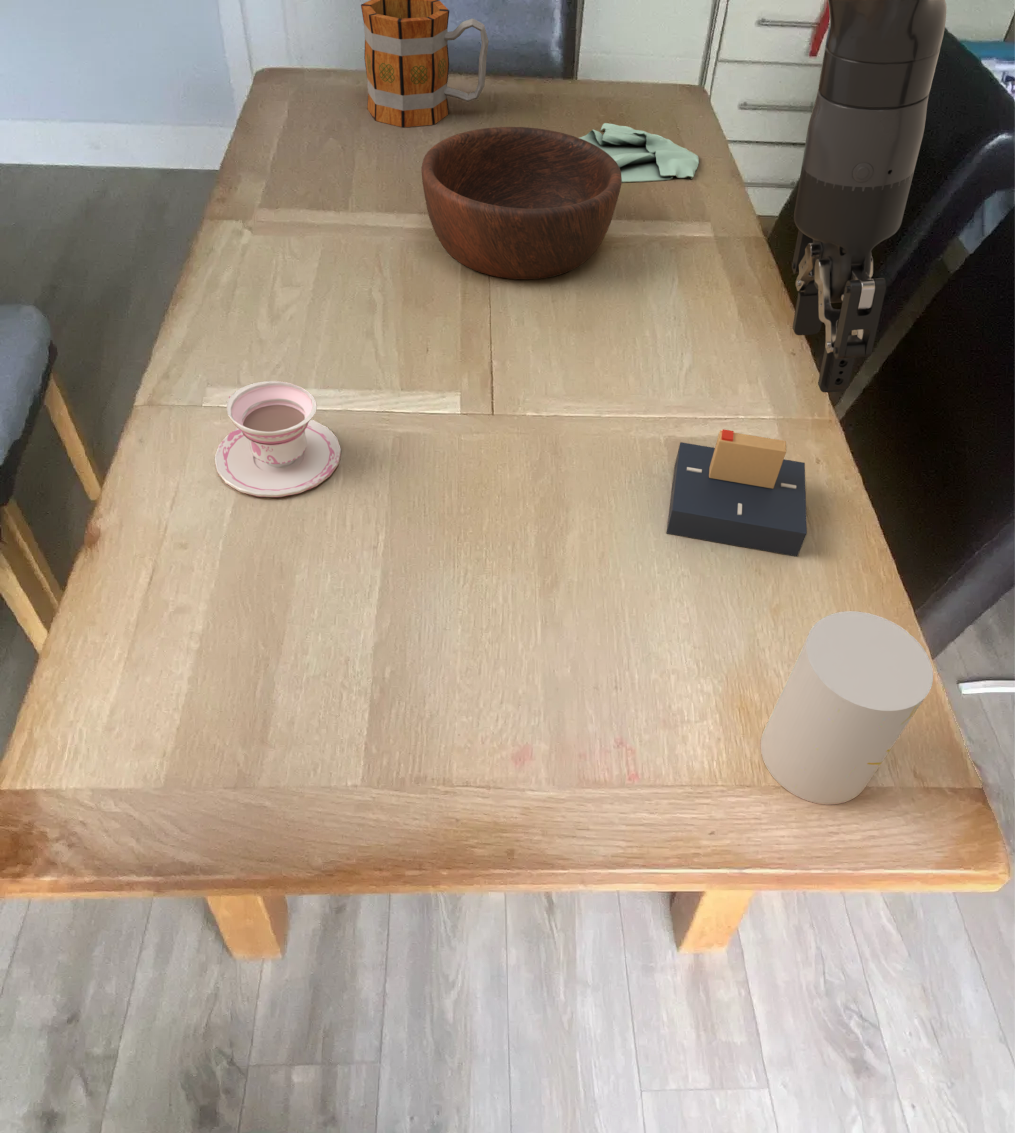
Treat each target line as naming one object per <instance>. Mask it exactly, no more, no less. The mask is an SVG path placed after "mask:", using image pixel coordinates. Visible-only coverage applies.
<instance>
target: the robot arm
mask: <svg viewBox="0 0 1015 1133" xmlns="http://www.w3.org/2000/svg"><path fill="white" fill-rule="evenodd" d="M827 2H828V10H829V23H828V24H829V25H828V29H827V34H826V38H825V45H824V50H823V56H822V63H821V69H820V75H819V82H818V88H817V91H816V96H815V101H814V104H813V107H812V110H811V114H810V117H809V121H808V124H807V125H808V126H807V132H806V136H805V137H806V138H805V143H804V150H803V155H802V163H801V169H800V175H799V181H798V187H797V193H796V199H795V207H794V213H793V221H794V225H795V226H796V228H797V229H798V231H797V236H796V242H795V247H794V254H793V258H792V263H791V270H792V272H793V274H798V275H797V277H796V280H795V287H796V291H797V297H796V298H797V299H796V304H795V310H794V316H793V321H792V330H793V332H794V334H795V335H796V336H810V335H811V336H813V335H816V334H818V333H819V332H820V331H821V328H822V324H823V323H824V326H825V343H824V345H825V346H824V352H823V356H822V360H821V366H820V371H819V376H818V381H817V386H818V387H819V390H820V391H821V392H822V393H840V392H844V391H846V390H847V389H848V388H849V386H850V383H851V382H850V381H851V377H852V373H853V368H854V364H855V359H856V358H866V357H867V358H869V357H871V356H872V354H873V350H874V345H875V340H876V336H877V332H878V327H879V322H880V318H881V313H882V308H883V304H884V299H885V295H886V289H887V282H886V279H885V277H880V278H879V277H878V278H877V277H876V278H872V277H873V274H874V258H873V256H872V255H873V253H872V251H873V249H874V248H875V247H876V246H878V245H879V244H880V243H882V242H884V241H886V240H888V239H889V238H891V237H893V236H894V235H895V234H896V233H897V232H898V231H899V229H900V228H901V226H902V223H903V218H904V214H905V210H906V206H907V201H908V198H909V194H910V190H911V185H912V181H913V177H914V173H915V170H916V165H917V162H918V157H919V153H920V150H921V146H922V141H923V138H924V132H925V126H926V119H927V112H928V110H927V109H928V102H929V97H930V92H931V90H932V89H931V88H932V84H933V79H934V76H935V72H936V67H937V64H938V60H939V55H940V52H941V47H942V44H943V43H942V42H943V39H944V34H945V29H946V22H947V11H948V10H947V3H946V0H827ZM832 304H841V308H834V307H833V306H832ZM850 333H851V335H850Z"/></svg>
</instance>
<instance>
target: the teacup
mask: <svg viewBox="0 0 1015 1133" xmlns="http://www.w3.org/2000/svg"><path fill="white" fill-rule="evenodd" d="M317 409H318V403H317V400H316V398H315V397H314V395H313V394H312V393H311V392H310V391H308V390H307V389H305V388H304V387H302V386H300V385H297V384H295V383H291V382H288V381H287V382H286V381H282V380H281V381H280V380H265V381H257V382H252V383H250V384H246V385H244V386H242V387H240V388H238V389H237V390H235V391H234V392H232V394H231V395H229V396H228V400H227V402H226V413H227V416H228V417H229V418H230V420H231V422H232V424H233V425H234V426H235V429H233V430H232V431H231V432H229V433H228V434H227V435H225V437H224V438H223V439H222V440H221V442H220V443H219V444H218V446H217V448H216V449H217V450H216V452H215V455H214V463H215V470H216V473H217V475H219V477H220V478H221V479H222V481H223V482H224V484H226V485H227V486H229V487H231V488H233V489H234V490H236V491H238V492H239V493H243V494H247V495H250V496H254V497H258V498H259V497H260V498H282V497H288V496H293V495H298V494H301V493H303V492H306V491H308V490H311V489H313V488H316V487H318V486H319V485H321V483H324V481H326V480H327V479H328V478H330V477H331V476H332V475H333V473H334V472H335V470H336V468H338V466H339V464H340V461H341V460H340V459H341V455H342V449H341V448H342V447H341V446H340V442H339V439H338V436H336V434H334V432H333V431H332V430H331V429H330V428H329V427H328V426H326V425H324V424H322V423H320V422H319V421H317V420H315V419H313V418H314V417H315V415H316V413H317Z"/></svg>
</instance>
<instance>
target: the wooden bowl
mask: <svg viewBox="0 0 1015 1133" xmlns="http://www.w3.org/2000/svg"><path fill="white" fill-rule="evenodd" d="M422 159H423V160H422V163H421V172H420V173H421V180H422V181H421V182H422V188H423V194H424V199H425V204H426V209H427V213H428V217H429V220H430V224H431V226H432V229H433V232H434V233H435V236H436V237H437V239H438V241H439V242H440V244H441V245H442V247H443V249H444V250H445V251H446V252H447V254H449V255H450V257H452V258H453V259H454V260H456V261H457V262H458V263H460V264H461V265H463V266H465V267H466V268H469V269H471V270H473V271H475V272H478V273H481V274H483V275H487V276H492V277H496V278H502V279H503V278H504V279H510V280H538V279H539V280H541V279H547V278H552V277H556V276H560V275H563V274H566V273H569V272H571V271H574V270H576V268H578V267H579V266H581V265H583V264H584V263H586V262H587V261H588V259H590V258H591V256H592V255H593V254H594V253H595V252H596V251H597V249H598V248H599V246H600V245H601V244H602V241H603V240H604V238H605V236H606V234H607V232H608V230H609V228H610V226H611V222H612V219H613V217H614V213H615V210H616V206H617V203H618V200H619V197H620V192H621V188H622V184H623V182H622V177H621V171H620V168H619V166H618V164H617V163H616V161H615V160H614V159H613V158H612V157H611V156H610V155H609V154H608V153H606V152H605V151H604V150H602V149H601V148H599V147H598V146H596V145H594V144H592V143H590V142H588V141H585V140H583V139H580V137H577V136H574V135H571V134H568V133H564V132H561V131H555V130H550V129H544V128H538V127H527V126H494V127H484V128H478V129H471V130H467V131H463V132H460V133H457V134H454V135H451V136H449V137H446V138H445V139H442V140H441V141H439V142H438V143H436V144H435V145H433V146H432V147H431V148H430V149H429V150H428V151H427V152H426V153H425V155H424V156H423V158H422Z"/></svg>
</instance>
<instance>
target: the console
mask: <svg viewBox="0 0 1015 1133" xmlns="http://www.w3.org/2000/svg"><path fill="white" fill-rule="evenodd" d="M714 450H715V447H712V446H707V445H700V444H694V443H689V442H682V441H680V442H679V444H678V450H677V453H676V454H677V455H676V459H675V462H674V466H673V467H674V468H673V474H672V475H673V477H672V484H671V493H670V500H669V509H668V517H667V526H666V531H665V532H666V534H667V535H672V536H679V537H684V538H689V539H690V538H691V539H694V540H701V541H707V542H712V543H717V544H718V543H719V544H724V545H729V546H735V547H740V548H746V549H752V550H757V551H763V552H769V553H775V554H780V555H786V556H791V557H798V556H799V554H800V551H801V550H802V547H803V544H804V542H805V539H806V538H807V534H808V530H807V529H808V527H807V526H808V525H807V524H808V523H807V495H806V494H807V492H806V464H805V462H802V461H797V460H791V459H786V458H784V460H783V463H782V465H781V468H780V471H779V474H778V477H777V480H776V482H775V485H774V488H773V489H771V488H766V487H760V486H754V485H748V484H742V483H736V482H730V481H724V480H718V479H713V478H709V469H710V464H711V461H712V457H713V453H714Z"/></svg>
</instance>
